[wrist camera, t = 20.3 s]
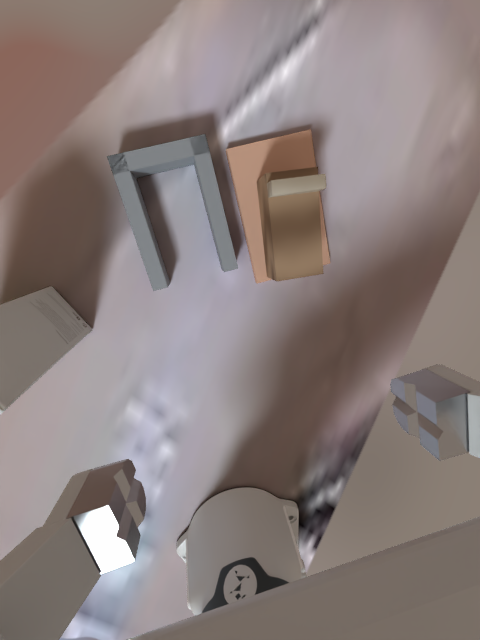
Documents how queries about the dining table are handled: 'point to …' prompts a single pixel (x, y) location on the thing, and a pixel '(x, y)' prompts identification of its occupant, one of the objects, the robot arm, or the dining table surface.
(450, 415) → the robot arm
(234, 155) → the rubber pad
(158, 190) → the dining table surface
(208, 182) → the frame
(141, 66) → the dining table surface
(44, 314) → the skincare box
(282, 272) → the walnut block
